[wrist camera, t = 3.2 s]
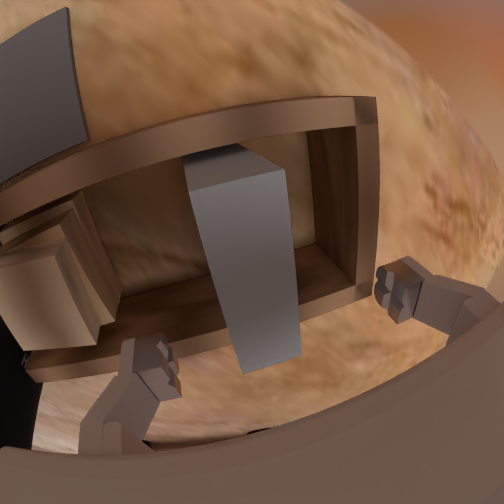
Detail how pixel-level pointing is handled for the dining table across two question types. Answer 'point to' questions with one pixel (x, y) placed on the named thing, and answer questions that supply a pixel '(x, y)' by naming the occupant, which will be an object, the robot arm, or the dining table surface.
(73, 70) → the flat gray square tile
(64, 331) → the offcut top
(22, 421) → the wine bottle
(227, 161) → the gray rectangular block
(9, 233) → the offcut bottom
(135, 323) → the wooden box
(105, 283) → the block
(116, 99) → the dining table surface
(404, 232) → the dining table surface
